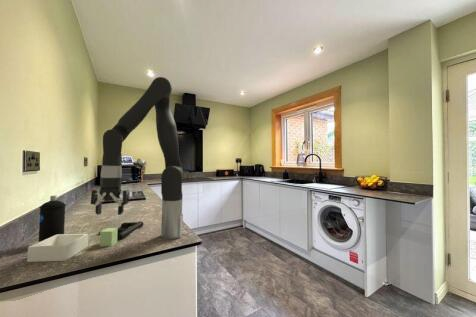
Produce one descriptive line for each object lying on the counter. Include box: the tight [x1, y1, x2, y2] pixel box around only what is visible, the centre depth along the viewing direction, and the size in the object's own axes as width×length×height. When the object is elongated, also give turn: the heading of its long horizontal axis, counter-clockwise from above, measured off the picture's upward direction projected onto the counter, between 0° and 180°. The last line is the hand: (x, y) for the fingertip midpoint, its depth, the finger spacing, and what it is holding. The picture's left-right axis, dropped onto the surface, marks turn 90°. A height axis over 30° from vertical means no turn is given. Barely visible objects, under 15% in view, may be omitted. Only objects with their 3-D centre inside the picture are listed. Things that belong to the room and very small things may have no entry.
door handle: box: [98, 220, 145, 241], centre depth 97 cm, size 3×20×16 cm
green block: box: [99, 227, 118, 247], centre depth 83 cm, size 4×4×6 cm
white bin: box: [26, 233, 89, 263], centre depth 73 cm, size 12×12×5 cm
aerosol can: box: [38, 195, 67, 242], centre depth 82 cm, size 8×8×20 cm
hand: (109, 214), depth 83 cm, fingers open, 8 cm apart
